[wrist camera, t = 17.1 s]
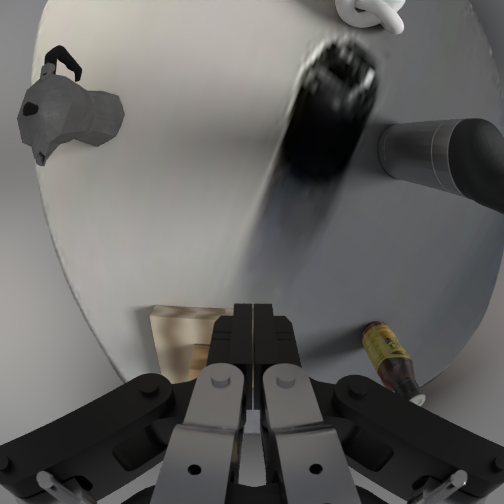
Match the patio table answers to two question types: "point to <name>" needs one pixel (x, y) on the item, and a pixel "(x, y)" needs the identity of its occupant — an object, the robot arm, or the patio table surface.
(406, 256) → the patio table surface
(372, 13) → the white knot
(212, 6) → the patio table surface
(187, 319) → the birch board
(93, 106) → the coffeepot
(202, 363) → the oak peg
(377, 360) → the sauce bottle
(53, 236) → the patio table surface
